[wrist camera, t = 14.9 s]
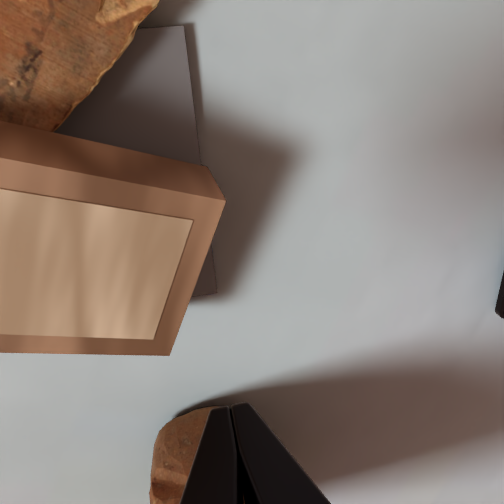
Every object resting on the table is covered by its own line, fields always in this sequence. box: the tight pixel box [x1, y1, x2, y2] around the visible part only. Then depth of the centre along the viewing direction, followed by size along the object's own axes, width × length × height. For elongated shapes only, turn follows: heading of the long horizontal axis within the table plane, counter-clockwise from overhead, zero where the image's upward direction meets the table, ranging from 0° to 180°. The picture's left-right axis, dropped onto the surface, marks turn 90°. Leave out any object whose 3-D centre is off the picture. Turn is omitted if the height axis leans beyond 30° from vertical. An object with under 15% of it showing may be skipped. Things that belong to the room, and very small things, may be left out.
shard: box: [0, 0, 160, 132], centre depth 15 cm, size 11×8×2 cm
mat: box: [54, 25, 217, 297], centre depth 19 cm, size 13×12×1 cm
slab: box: [0, 121, 226, 356], centre depth 17 cm, size 3×8×9 cm
